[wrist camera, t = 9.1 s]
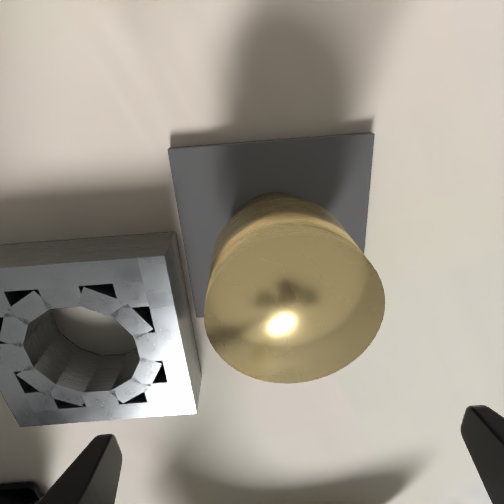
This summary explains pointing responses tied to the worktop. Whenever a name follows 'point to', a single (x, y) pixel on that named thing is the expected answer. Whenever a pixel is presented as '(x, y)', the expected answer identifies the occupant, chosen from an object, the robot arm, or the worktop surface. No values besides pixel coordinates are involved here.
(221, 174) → the mat
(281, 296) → the end cover
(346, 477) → the worktop surface
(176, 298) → the housing
